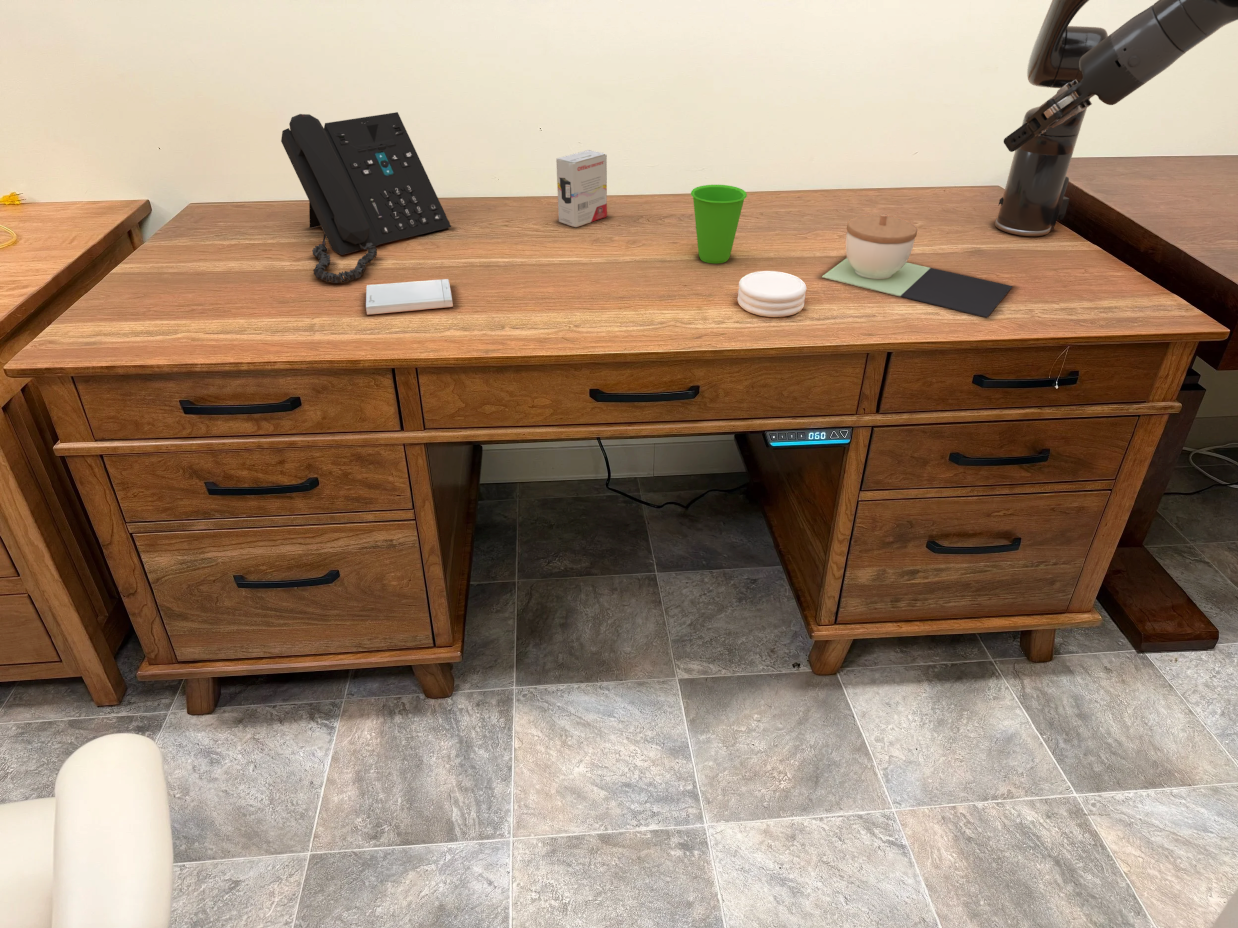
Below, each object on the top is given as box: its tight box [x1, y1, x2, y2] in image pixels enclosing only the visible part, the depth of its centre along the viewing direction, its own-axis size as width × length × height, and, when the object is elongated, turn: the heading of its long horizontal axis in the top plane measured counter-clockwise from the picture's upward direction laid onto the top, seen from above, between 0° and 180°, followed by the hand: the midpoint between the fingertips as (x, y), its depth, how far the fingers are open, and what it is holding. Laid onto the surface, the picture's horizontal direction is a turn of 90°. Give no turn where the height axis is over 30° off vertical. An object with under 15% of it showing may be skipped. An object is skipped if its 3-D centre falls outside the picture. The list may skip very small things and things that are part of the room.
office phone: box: [280, 111, 452, 284], centre depth 141 cm, size 29×28×20 cm
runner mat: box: [821, 257, 1013, 319], centre depth 133 cm, size 26×14×1 cm, turn 55°
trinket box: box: [844, 213, 918, 279], centre depth 133 cm, size 11×11×9 cm
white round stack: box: [736, 270, 807, 318], centre depth 125 cm, size 10×10×4 cm
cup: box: [690, 184, 748, 264], centre depth 138 cm, size 9×9×11 cm
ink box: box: [555, 149, 608, 228], centre depth 154 cm, size 9×5×12 cm, turn 136°
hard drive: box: [365, 278, 454, 316], centre depth 126 cm, size 2×8×12 cm
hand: (1008, 146), depth 117 cm, fingers closed
